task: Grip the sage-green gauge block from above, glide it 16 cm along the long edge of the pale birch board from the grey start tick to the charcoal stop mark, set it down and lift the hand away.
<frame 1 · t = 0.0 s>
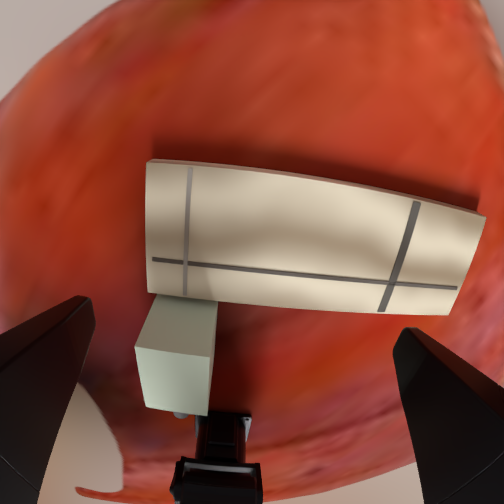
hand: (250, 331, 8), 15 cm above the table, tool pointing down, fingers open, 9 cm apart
birch board: (330, 244, 23), on the table
gauge block: (187, 326, 26), on the table
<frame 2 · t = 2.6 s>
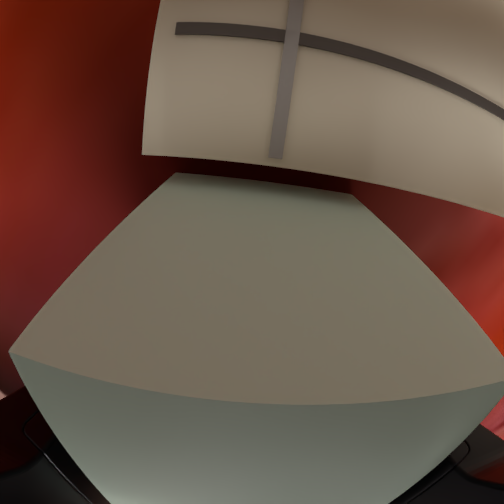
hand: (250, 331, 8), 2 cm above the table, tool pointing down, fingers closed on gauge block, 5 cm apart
gauge block: (250, 290, 10), on the table, touching gripper
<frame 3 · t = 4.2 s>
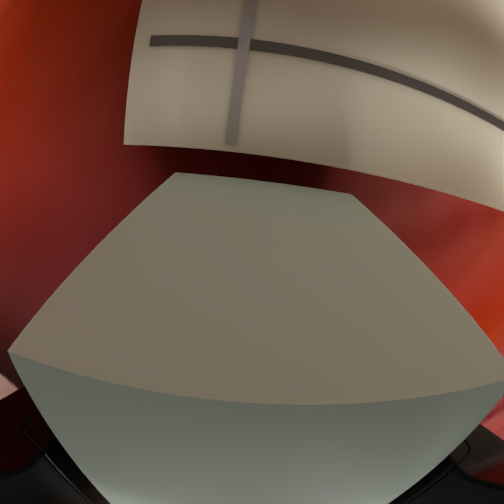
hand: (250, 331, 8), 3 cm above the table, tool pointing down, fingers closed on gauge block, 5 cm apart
gauge block: (250, 290, 10), point 1 cm above the table, touching gripper
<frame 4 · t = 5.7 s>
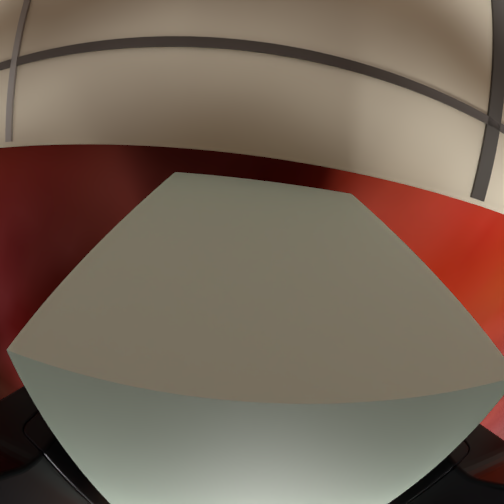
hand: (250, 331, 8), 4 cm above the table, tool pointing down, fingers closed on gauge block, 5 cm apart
birch board: (343, 18, 7), on the table
gauge block: (250, 289, 10), point 1 cm above the table, touching gripper
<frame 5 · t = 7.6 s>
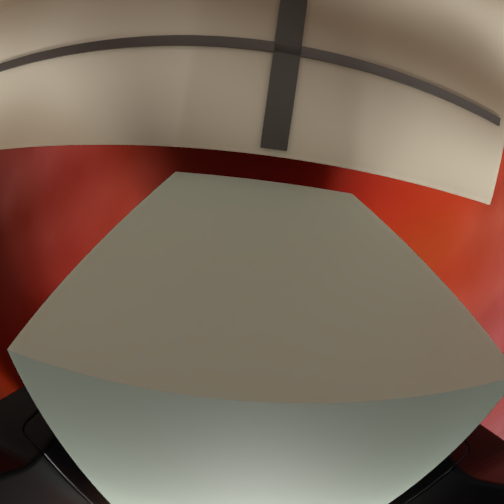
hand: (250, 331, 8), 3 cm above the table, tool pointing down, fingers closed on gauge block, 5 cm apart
birch board: (121, 2, 7), on the table
gauge block: (250, 289, 10), point 1 cm above the table, touching gripper
when the fingers open (3 cm above the table, at t = 8.9 s): gauge block drops 1 cm, on the table.
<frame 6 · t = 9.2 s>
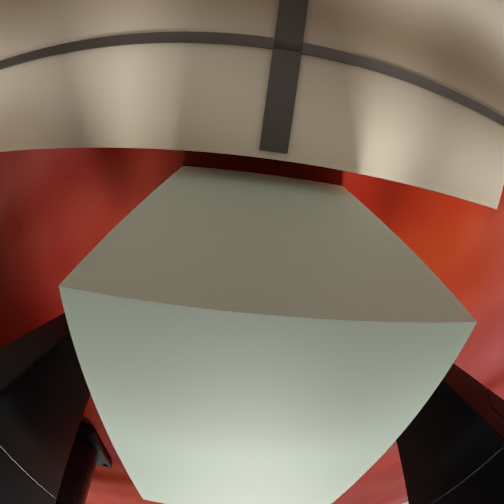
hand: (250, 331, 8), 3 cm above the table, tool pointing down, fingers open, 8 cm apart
gauge block: (250, 273, 11), on the table
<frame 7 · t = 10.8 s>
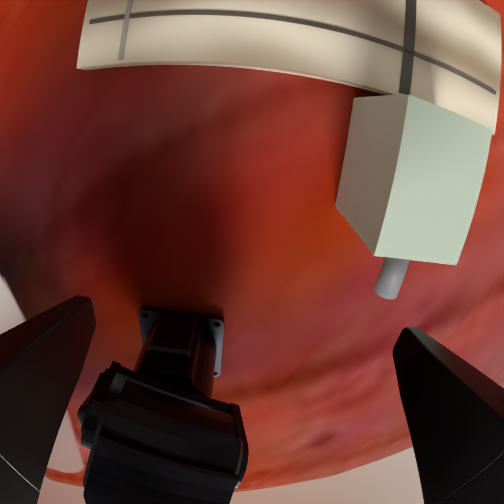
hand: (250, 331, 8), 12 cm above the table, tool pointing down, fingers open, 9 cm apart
birch board: (315, 4, 13), on the table
gauge block: (381, 160, 18), on the table
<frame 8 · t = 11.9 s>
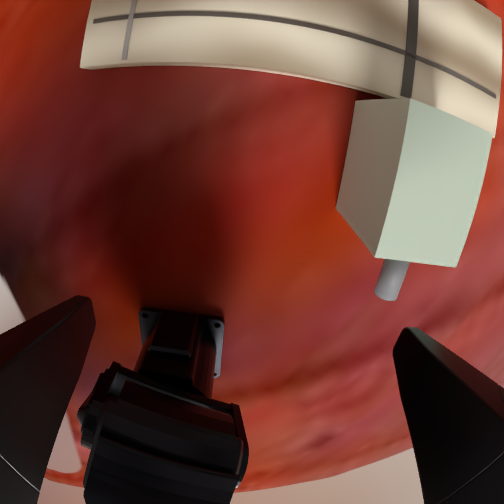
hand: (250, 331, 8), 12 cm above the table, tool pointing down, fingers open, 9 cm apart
birch board: (318, 6, 13), on the table
gauge block: (381, 162, 18), on the table
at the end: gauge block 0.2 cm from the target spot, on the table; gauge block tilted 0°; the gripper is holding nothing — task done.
